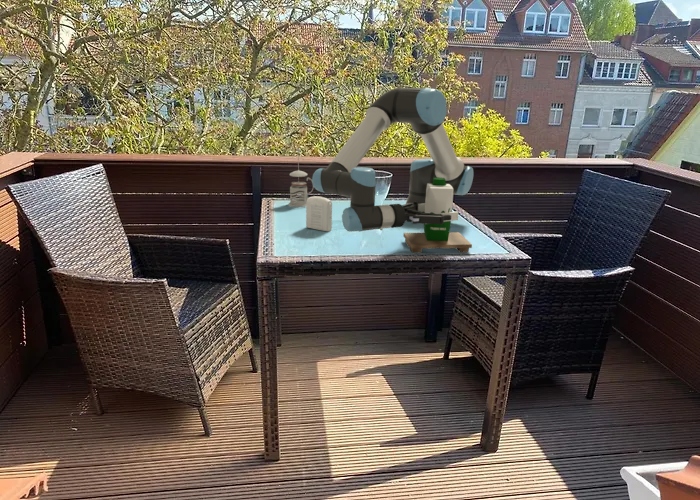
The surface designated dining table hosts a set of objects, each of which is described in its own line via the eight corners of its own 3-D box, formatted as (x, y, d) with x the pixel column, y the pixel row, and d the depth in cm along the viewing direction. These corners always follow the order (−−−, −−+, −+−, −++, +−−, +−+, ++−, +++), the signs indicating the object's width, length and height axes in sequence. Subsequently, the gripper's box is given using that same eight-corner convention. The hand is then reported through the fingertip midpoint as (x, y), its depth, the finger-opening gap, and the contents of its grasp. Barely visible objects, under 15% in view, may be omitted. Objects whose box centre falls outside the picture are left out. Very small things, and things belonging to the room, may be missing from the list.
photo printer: (333, 229, 186) (334, 197, 182) (327, 232, 182) (328, 199, 178) (310, 225, 191) (310, 194, 187) (304, 228, 187) (304, 196, 183)
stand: (458, 240, 176) (458, 232, 175) (471, 253, 163) (471, 244, 162) (403, 240, 174) (403, 232, 173) (411, 253, 161) (412, 245, 160)
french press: (289, 201, 228) (288, 146, 220) (314, 202, 228) (314, 147, 220) (286, 206, 219) (285, 149, 211) (312, 207, 219) (312, 150, 211)
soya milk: (446, 234, 172) (451, 177, 166) (451, 242, 164) (456, 182, 157) (421, 233, 172) (425, 176, 166) (424, 241, 164) (429, 181, 158)
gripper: (372, 218, 169) (424, 213, 178) (408, 238, 148) (467, 231, 156) (372, 196, 167) (426, 192, 175) (410, 214, 145) (469, 208, 154)
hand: (445, 211), depth 166 cm, fingers open, 13 cm apart
